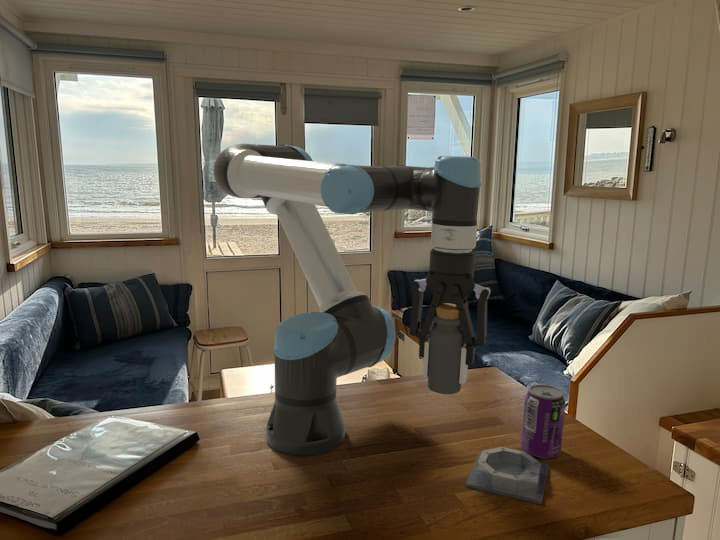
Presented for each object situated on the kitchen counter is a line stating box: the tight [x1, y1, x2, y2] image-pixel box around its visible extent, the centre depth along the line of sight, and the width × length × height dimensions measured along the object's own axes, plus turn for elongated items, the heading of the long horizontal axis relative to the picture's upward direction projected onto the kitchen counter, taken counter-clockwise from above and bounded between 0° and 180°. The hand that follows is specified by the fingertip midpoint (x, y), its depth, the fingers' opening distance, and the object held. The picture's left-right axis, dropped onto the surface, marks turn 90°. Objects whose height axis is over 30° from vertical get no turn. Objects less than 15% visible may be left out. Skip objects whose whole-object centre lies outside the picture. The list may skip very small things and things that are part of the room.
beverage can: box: [520, 383, 566, 459], centre depth 103 cm, size 7×7×12 cm
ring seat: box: [465, 446, 550, 505], centre depth 96 cm, size 12×12×3 cm
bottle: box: [427, 302, 465, 395], centre depth 98 cm, size 6×6×15 cm
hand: (444, 377), depth 100 cm, fingers closed on bottle, 6 cm apart
